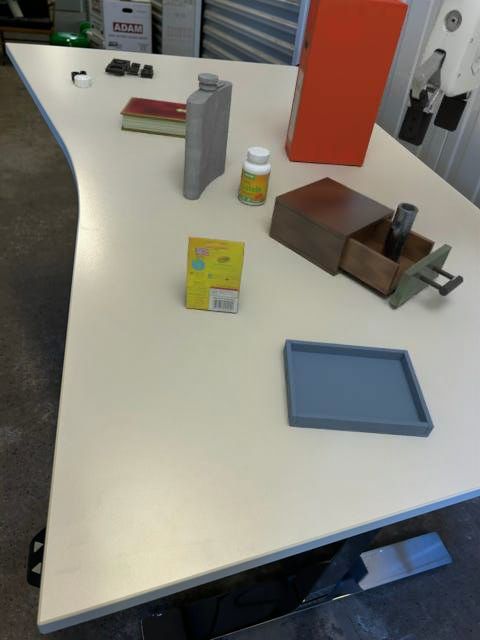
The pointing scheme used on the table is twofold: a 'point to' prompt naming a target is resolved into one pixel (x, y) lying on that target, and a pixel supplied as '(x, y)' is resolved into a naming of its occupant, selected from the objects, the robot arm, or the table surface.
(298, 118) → the file binder
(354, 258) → the drawer
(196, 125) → the hip flask
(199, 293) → the crayon box
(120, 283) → the table surface
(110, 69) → the black white parts set
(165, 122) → the hardcover book
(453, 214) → the table surface
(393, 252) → the grey rod with base
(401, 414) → the tray
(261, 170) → the supplement bottle
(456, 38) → the robot arm
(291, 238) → the cabinet
